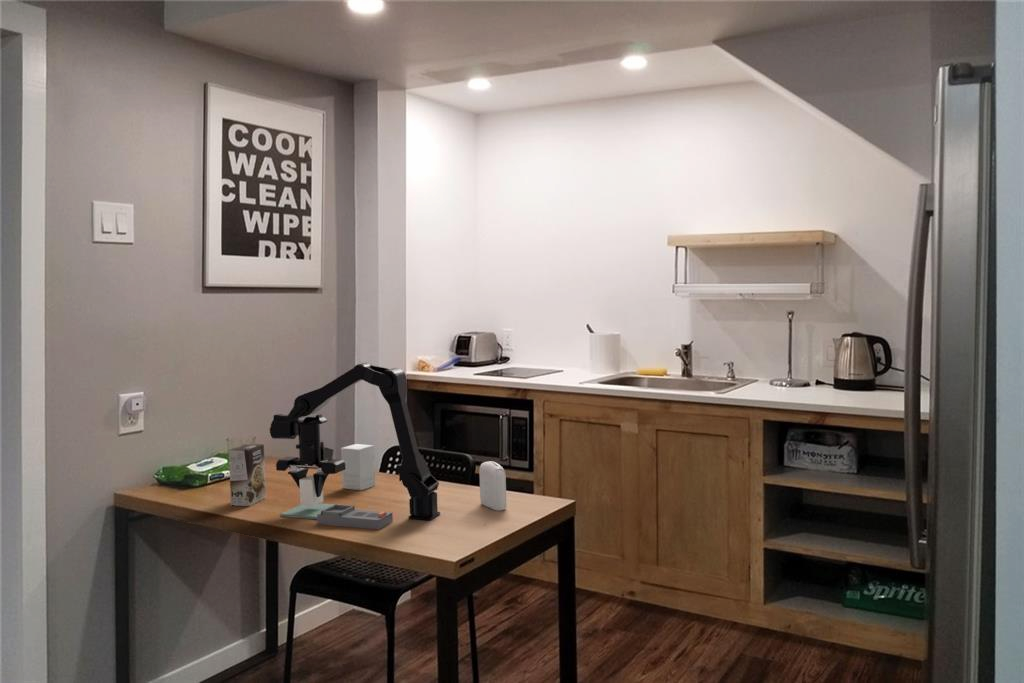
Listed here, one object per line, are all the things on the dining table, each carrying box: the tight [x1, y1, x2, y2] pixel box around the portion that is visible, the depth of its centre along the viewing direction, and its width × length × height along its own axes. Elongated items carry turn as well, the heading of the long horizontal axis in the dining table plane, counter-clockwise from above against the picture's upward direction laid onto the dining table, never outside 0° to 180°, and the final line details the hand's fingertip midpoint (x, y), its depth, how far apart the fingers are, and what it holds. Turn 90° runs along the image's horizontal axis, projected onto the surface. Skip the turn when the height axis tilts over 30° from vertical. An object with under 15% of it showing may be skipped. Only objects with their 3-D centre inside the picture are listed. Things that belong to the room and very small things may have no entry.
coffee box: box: [228, 443, 267, 507], centre depth 231 cm, size 9×6×16 cm
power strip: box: [316, 503, 394, 530], centre depth 208 cm, size 18×7×3 cm, turn 70°
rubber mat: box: [279, 503, 334, 520], centre depth 219 cm, size 12×12×1 cm
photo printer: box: [478, 460, 508, 511], centre depth 220 cm, size 10×4×12 cm, turn 27°
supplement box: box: [340, 443, 377, 491], centre depth 246 cm, size 7×7×13 cm
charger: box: [299, 475, 324, 506], centre depth 219 cm, size 4×5×7 cm
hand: (311, 496), depth 219 cm, fingers closed on charger, 4 cm apart
